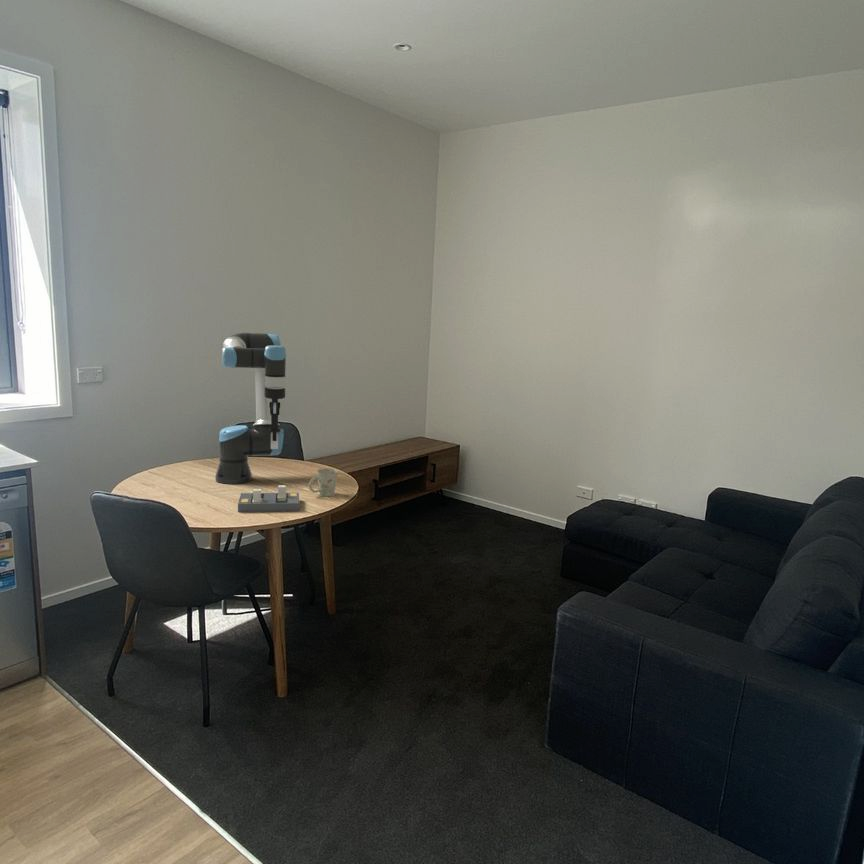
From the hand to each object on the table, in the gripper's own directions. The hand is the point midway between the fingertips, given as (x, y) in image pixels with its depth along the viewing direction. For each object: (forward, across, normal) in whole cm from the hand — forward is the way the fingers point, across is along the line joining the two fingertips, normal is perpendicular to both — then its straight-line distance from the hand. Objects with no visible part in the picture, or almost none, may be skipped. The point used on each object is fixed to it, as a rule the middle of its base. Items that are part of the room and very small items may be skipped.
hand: (274, 448), depth 234 cm
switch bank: (+21, +4, -2) cm, 22 cm away
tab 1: (+20, +7, -6) cm, 22 cm away
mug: (+22, -8, +19) cm, 30 cm away
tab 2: (+20, +2, +3) cm, 20 cm away
